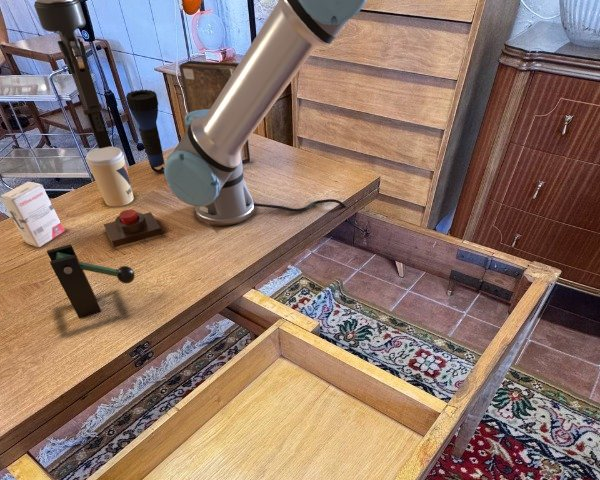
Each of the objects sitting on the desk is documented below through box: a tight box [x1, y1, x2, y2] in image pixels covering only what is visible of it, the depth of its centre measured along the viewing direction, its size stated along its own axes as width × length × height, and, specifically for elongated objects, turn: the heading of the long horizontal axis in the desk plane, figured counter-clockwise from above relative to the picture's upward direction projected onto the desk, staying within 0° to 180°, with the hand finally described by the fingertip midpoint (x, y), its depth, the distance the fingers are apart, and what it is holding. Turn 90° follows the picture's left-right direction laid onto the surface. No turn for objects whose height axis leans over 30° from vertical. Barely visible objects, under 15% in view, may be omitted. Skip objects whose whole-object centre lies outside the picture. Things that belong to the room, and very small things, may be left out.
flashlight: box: [125, 89, 166, 174], centre depth 124 cm, size 8×8×20 cm
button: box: [118, 209, 138, 224], centre depth 106 cm, size 4×4×2 cm
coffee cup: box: [85, 146, 134, 207], centre depth 117 cm, size 9×9×12 cm
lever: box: [56, 252, 136, 285], centre depth 85 cm, size 14×3×3 cm
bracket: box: [46, 243, 102, 319], centre depth 85 cm, size 12×9×14 cm
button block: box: [103, 211, 163, 248], centre depth 108 cm, size 12×9×4 cm
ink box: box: [0, 181, 65, 248], centre depth 105 cm, size 9×5×12 cm, turn 152°
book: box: [178, 60, 252, 168], centre depth 126 cm, size 17×7×25 cm, turn 65°
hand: (105, 146), depth 94 cm, fingers closed
